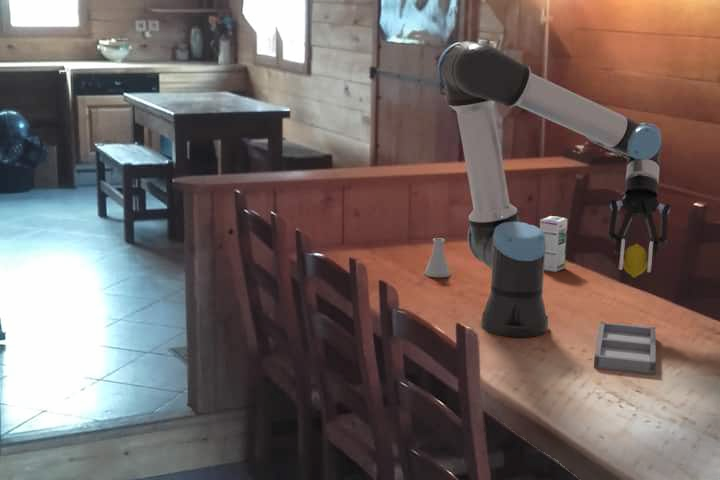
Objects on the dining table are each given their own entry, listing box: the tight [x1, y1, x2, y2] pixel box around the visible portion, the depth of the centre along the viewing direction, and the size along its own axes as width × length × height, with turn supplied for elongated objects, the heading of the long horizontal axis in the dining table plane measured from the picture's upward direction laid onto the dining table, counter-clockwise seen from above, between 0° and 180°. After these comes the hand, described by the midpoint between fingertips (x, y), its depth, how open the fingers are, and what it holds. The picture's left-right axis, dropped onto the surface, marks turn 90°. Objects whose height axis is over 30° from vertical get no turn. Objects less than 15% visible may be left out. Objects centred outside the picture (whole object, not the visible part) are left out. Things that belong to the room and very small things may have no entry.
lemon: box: [623, 243, 648, 279], centre depth 223 cm, size 6×6×8 cm
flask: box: [424, 237, 451, 278], centre depth 265 cm, size 7×7×10 cm
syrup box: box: [539, 215, 568, 273], centre depth 272 cm, size 6×6×14 cm
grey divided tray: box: [593, 321, 657, 375], centre depth 209 cm, size 23×12×2 cm, turn 164°
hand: (635, 267), depth 220 cm, fingers closed on lemon, 5 cm apart
